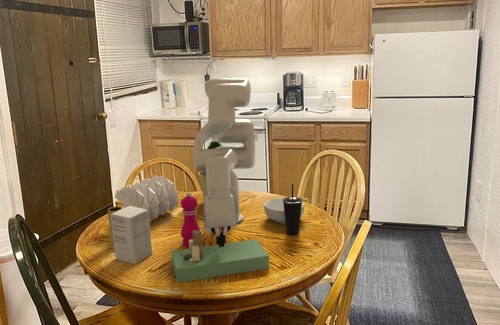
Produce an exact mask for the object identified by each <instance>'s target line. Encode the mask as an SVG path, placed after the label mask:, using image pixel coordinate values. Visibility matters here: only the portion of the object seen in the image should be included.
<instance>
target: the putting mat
mask: <svg viewBox="0 0 500 325" xmlns="http://www.w3.org/2000/svg"><path fill="white" fill-rule="evenodd" d="M224 245H225V247H219V245H218V244H213V245H207V246H202V253H203V256H201V257H200V260H197V261H188V260H189V259H190V258H192V256H191V253H190V250H189V248H185V249H178V250H171V251H170V259H171V266H172V270H173V273H174V276H175V279H176V280H175V281H176V284H177V283H184V282H189V281H196V280H203V279H209V278H215V277H222V276H228V275H234V274H235V275H236V274H241V273H246V272H247V273H248V272H253V271H259V270H268V269H269V268H270V255H269V254H268V253H267V251H266V250H265V249H264V247H263V246H262V245H261V243H260V242H259V241H258V240H257V239H250V240H243V241H235V242H229V243H227V242H226V243H224Z"/></svg>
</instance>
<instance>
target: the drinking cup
mask: <svg viewBox="0 0 500 325" xmlns="http://www.w3.org/2000/svg"><path fill="white" fill-rule="evenodd" d="M303 200H304V199H303V198H301V197H299V196H294V183H291V196H287V197H284V199H283V204H284V214H285V223H284V224H285V231H286V232H285V234H286V235H288V236H291V237H294V236H298V235H299V234H300V226H301V225H300V223H301V217H302V216H301V206H302V202H303V203H304V201H303ZM300 216H301V217H300Z"/></svg>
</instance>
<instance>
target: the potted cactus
mask: <svg viewBox="0 0 500 325" xmlns="http://www.w3.org/2000/svg"><path fill="white" fill-rule="evenodd" d="M207 145H208V146H207V148H206V149H215V148H217V147H220V146H222V143H219V142H218V141H217V140H216V139H215V140H211V141H210V142H209V143H208V144H207ZM198 178H199V182H200V187H201V191H202V197H203V201H204V200H205V196H207V178H206V172H200V171H198Z"/></svg>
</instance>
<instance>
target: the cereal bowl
mask: <svg viewBox="0 0 500 325" xmlns="http://www.w3.org/2000/svg"><path fill="white" fill-rule="evenodd" d="M284 198H285V197H284ZM284 198H283V197H282V198H273V199H269V200H266V201H265V202H264V204H263V211H264V213H265V215H266V216H267V217H268V218H269V219H270V220H272V221H275V223H279V224H285V214H284V204H283V199H284ZM304 212H305V204H304V201H303V202H302V206H301V216H300V218H301V217H302V216H303V214H304Z"/></svg>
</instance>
